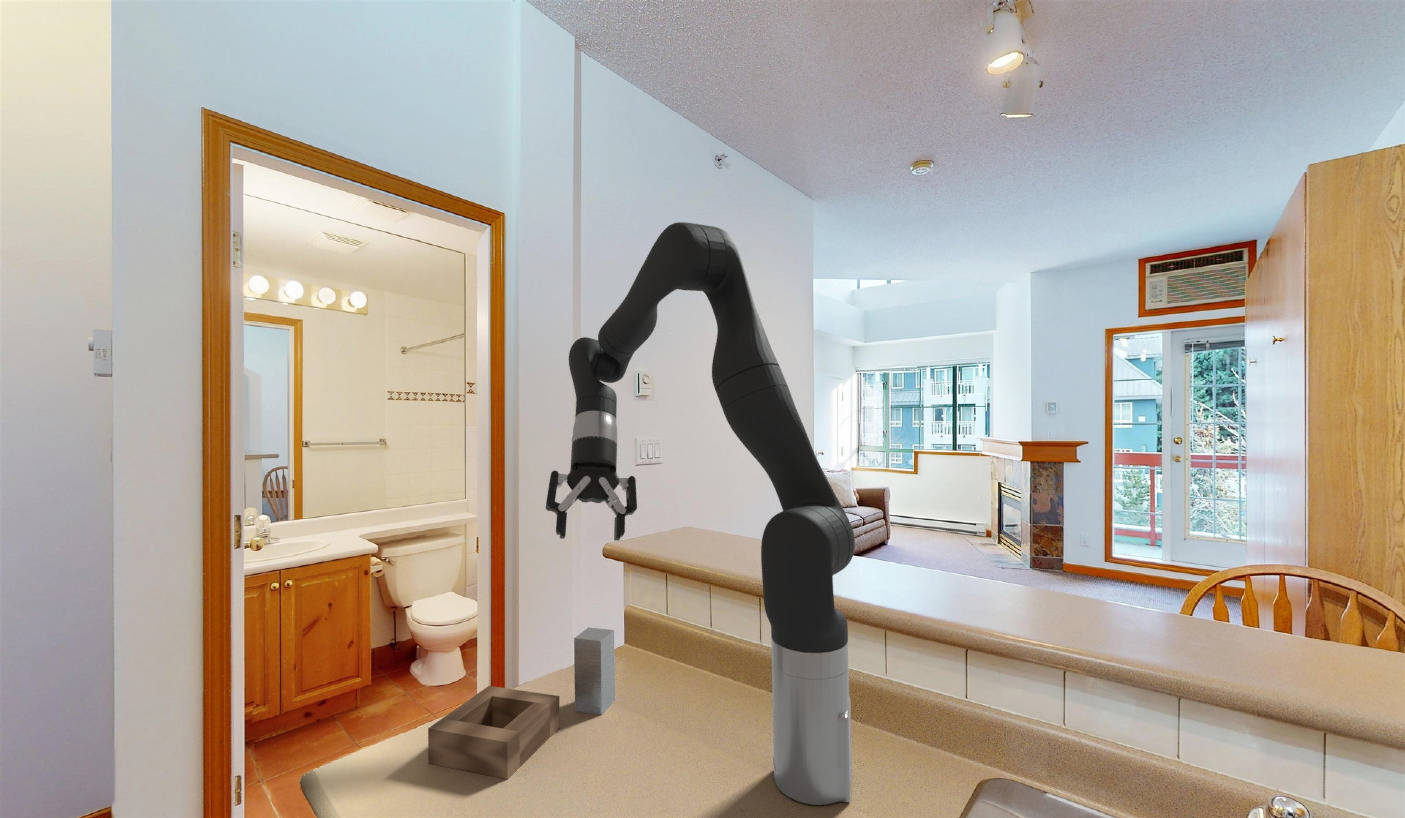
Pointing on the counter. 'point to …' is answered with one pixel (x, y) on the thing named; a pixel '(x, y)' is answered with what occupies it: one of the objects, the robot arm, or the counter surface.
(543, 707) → the well block
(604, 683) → the grey square pillar
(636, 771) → the counter surface
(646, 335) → the robot arm
